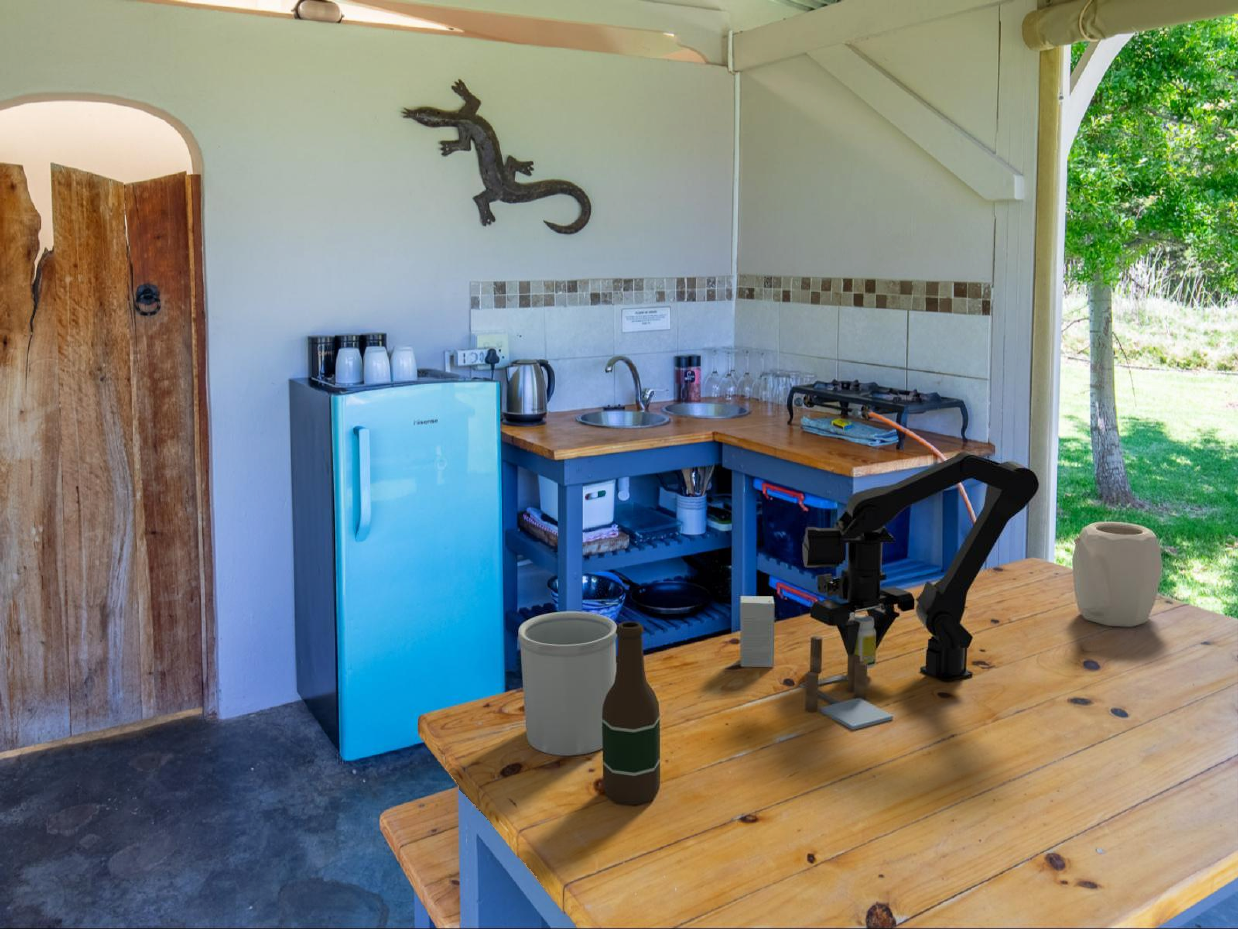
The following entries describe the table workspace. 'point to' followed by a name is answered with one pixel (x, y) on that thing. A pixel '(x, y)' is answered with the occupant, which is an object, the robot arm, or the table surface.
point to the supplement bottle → (866, 640)
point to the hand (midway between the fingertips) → (861, 653)
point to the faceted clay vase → (1116, 573)
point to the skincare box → (757, 631)
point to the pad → (856, 713)
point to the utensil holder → (566, 679)
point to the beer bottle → (631, 726)
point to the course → (854, 677)
